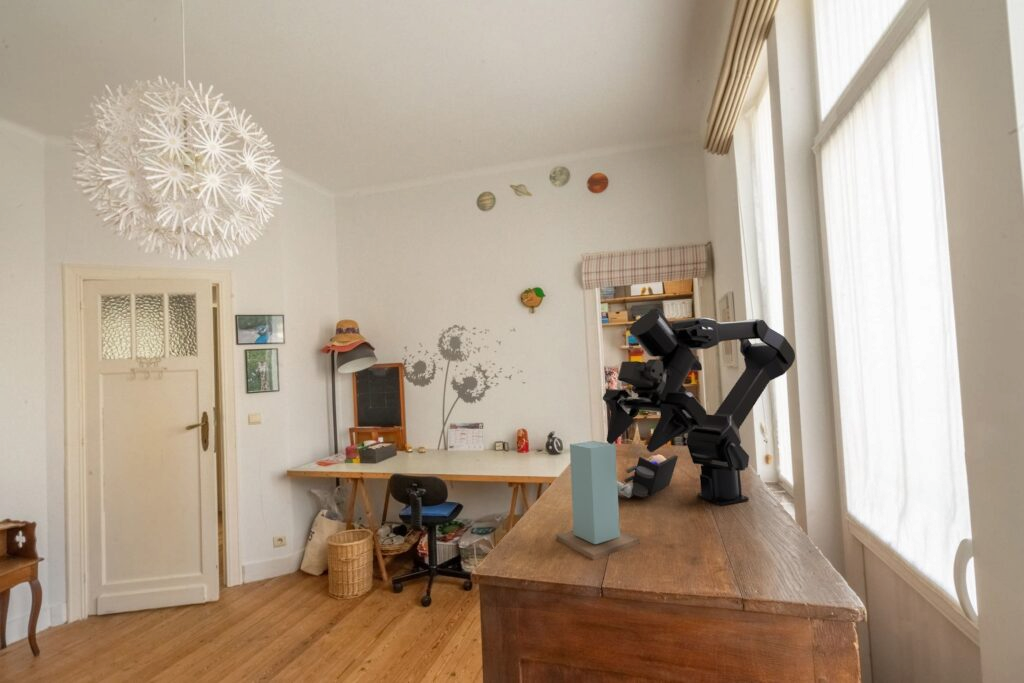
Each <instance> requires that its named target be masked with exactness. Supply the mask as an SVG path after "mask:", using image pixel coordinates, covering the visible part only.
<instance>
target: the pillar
mask: <svg viewBox="0 0 1024 683" xmlns="http://www.w3.org/2000/svg"><path fill="white" fill-rule="evenodd" d="M569 456H570V460H569V461H570V480H571V503H572V504H571V505H572V506H571V507H572V525H573V526H572V530H573V532H574V535H576V536H578V537H580V538H582V539H584V540H586V541H589V542H591V543H593V544H598V543H602V542H605V541H608V540H612V539H615V538H618V537H620V531H621V529H620V514H619V510H620V509H619V495H618V489H617V481H618V472H617V449H616V444H614V443H612V444H609V443H608V442H604V441H599V440H597V441H596V440H590V441H583V442H577V443H576V442H575V443H570V444H569Z"/></svg>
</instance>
